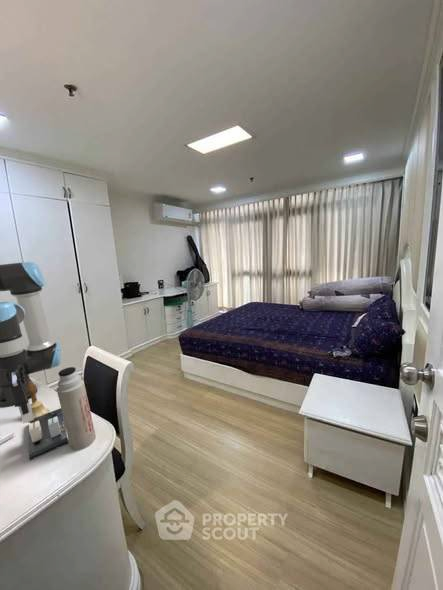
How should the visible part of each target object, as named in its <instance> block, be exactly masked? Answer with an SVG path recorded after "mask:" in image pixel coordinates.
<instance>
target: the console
mask: <svg viewBox="0 0 443 590" xmlns="http://www.w3.org/2000/svg"><path fill="white" fill-rule="evenodd" d="M56 416H57V418H58V422H59V426H60V432H61V434H59V435H58V436H57V437H52V438H51V434H50V430H49V426H48V420H49V419H51V418H54V417H56ZM36 421H39V422H40V426H41V430H42V439H40V441H39V442H36V441H35V442H33V443H32V439H31V436H30V432H29V435H28V436H29V437H28V450H27V451H28V452H27V455H28V459H29V461H33V460H34V459H36V458H39V457H41V456H43V455H45V454H48V453H50V452H52V451H54V450H56V449H58V448H60V447H62V446H65V445H67V444H69V438H68V434H67V430H66V426H65V422H64V418H63V414H62V409H61V407H60V408H58V409H55V410H52V411H50V412H49V413H47V414H44V415H42V416H39V417H36V418H34V420H32V421H30V422H29V424H31V423H34V422H36Z"/></svg>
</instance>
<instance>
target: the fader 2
mask: <svg viewBox="0 0 443 590" xmlns="http://www.w3.org/2000/svg"><path fill="white" fill-rule="evenodd" d="M48 426H49V430H50V434H51V438H52V437H57V436H58V435H59V434H61V432H60V426H59V422H58V418H57V416H56V417H54V418H51V419H49V420H48Z"/></svg>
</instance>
